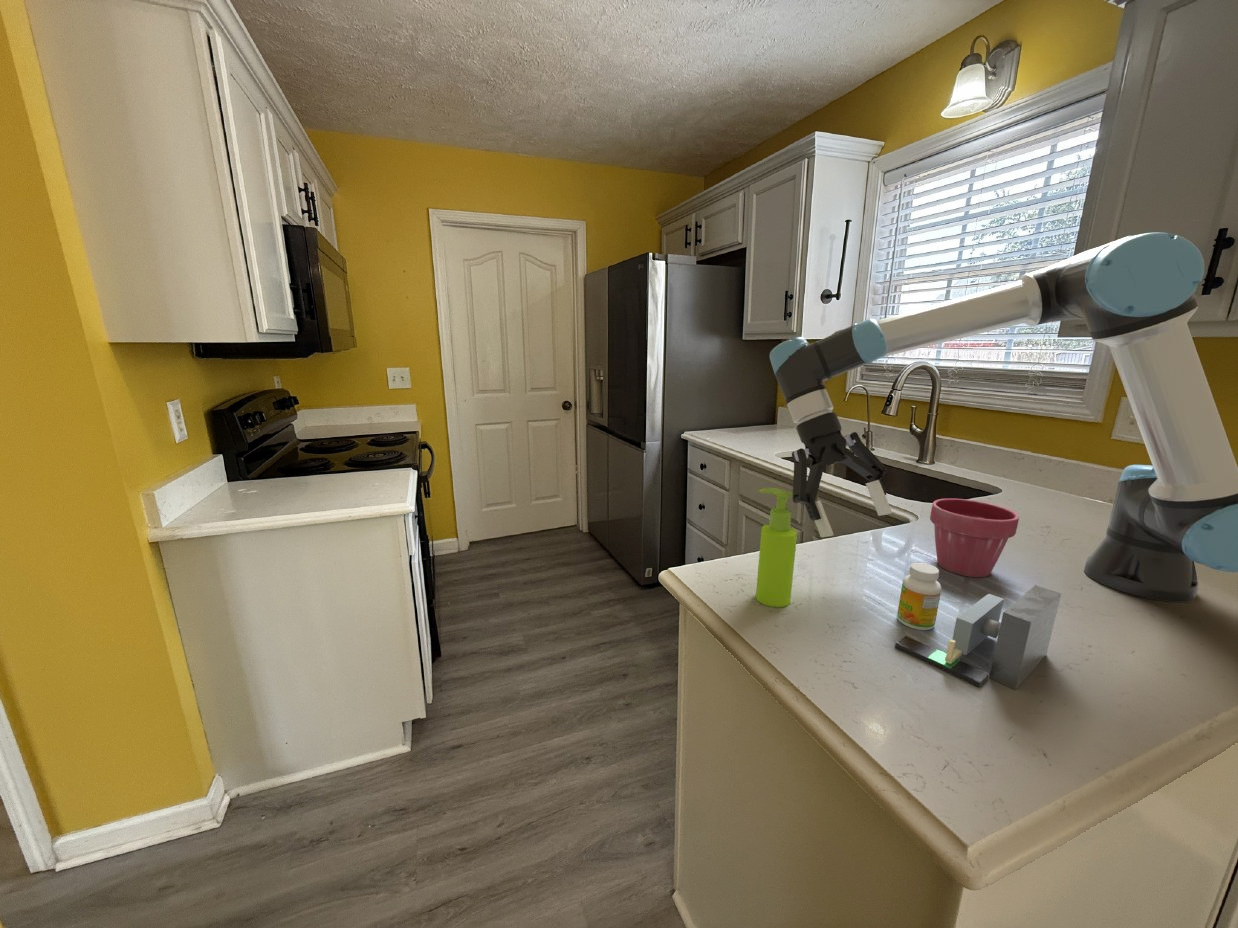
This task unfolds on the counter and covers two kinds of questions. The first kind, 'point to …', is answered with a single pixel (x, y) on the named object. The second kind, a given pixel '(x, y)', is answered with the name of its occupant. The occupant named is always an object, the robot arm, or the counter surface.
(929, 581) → the supplement bottle
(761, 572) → the soap dispenser
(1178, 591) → the robot arm
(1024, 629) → the frame
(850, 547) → the counter surface
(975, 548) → the plant pot
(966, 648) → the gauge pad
